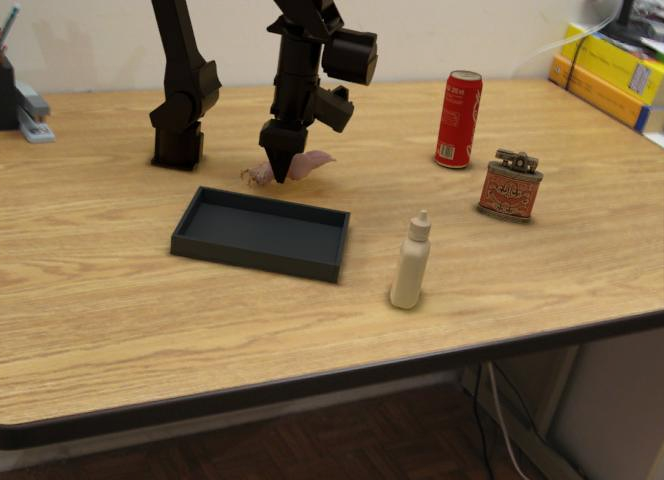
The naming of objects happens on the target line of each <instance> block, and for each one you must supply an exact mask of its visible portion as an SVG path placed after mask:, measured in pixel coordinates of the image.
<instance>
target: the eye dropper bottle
mask: <svg viewBox="0 0 664 480" xmlns="http://www.w3.org/2000/svg"><path fill="white" fill-rule="evenodd" d="M427 216H428V211H427V210H426V209H421V210H420V211H419V213H418V215H417V216H413V217H412V218H411V219H410V223H409V228H408V231H407V234H406V236H404V238H403V239H402V241H401V244H400V247H399V252H398V257H397V260H396V261H397V262H396V266H395V271H394V274H393V280H392V284H391V289H390V294H389V300H390V303H391V305H392V306H394V307H397V308H400V309H405V310H409V309H410V310H411V309H412V308H414V306H415V305H416V304H417V303H418V301H419V298H420V294H421V289H422V285H423V282H424V277H425V272H426V268H427V265H428V259H429V256H430V252H431V241H430V239H429V238H430V233H431V229H432V222H431V220H430V219H428V217H427Z"/></svg>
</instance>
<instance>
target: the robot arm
mask: <svg viewBox="0 0 664 480" xmlns="http://www.w3.org/2000/svg"><path fill="white" fill-rule="evenodd" d="M272 1H273V2H274V3H275V5H276V6H277V8H278V9H279V10H280V11H281V14H280V15H279V16H278V17H277V19H276V20H275V21H273V22H272V23H271V24H269V25H268V26H266V29H265V30H266V32H267V33H270V34H275V35H278V36H280V42H279V50H278V59H277V67H276V73H275V75H274V77H273V83H272V86H274V92H273V98H272V103H271V105H270V108H269V115H273V117H274V118H272V117H271V118H270V119H268V120H267V121H266V122H264V123H263V125H262V127H261V129H260V131H259V136H258V144H257V145H258V146H259V147H261V148H263V149H264V151H265V155H266V157H267V160H268V161H269V162H270V165H271V168H272V171H273V174H274V177H275V180H274V181H275V183H276V184H280V185H284V184H285V182H286V180H287V179H286V178H287V177H286V176H287V173H288V171H289V168H290V165H291V162H292V159H293V156H294V155H296V154H300V153H303V154H305V150H306V147H307V144H308V138H309V130H308V128H309V127H310V126H311V125H313V124H314V123H315V121H316V120H317V121H318V122H320V123H321V124H324V125H326V126H327V127H329V128H331V129H332V131H333V132H336V133H338V134H342V133H343V132H344V130H345V129H346V127H347V125H348V123H349V121H350V120H351V118H352V117H353V114H354V112H355V105H354V104H353V103H354V101H352V100H350V89H349V88H347V87H346V86H344V85H342V84H339V85H338V86H336V87H335V88H333V89H330V88H327V89H325V88H323V87H322V86H321V80H322V78H321V77H320V74H319V72H320V71H319V70H320V66H321V68H322V73H323V74H326V76H327V78H330V79H333V80H339V81H342V82H347V83H352V84H356V85H360V86H364V87H369V86H370V84H371V82H372V80H373V78H374V75H375V72H376V68H377V65H378V64H377V63H378V58H379V54H378V43H377V41H378V34H377V33H375V32H371V31H359V30H355V29H350V28H347V27H345V25H346V24H345V23H346V22H345V21H344V19H343V18H342V15H341V13H340V11H339V9H338V7H337V4H336V3H335V0H272ZM150 2H151V5H152V10H153V13H154V17H155V18H154V19H155V21H156V25H157V29H158V33H159V36H160V37H159V38H160V40H161V45H162V48H163V52H164V56H165V67H164V76H163V92H164V102H163V103H161V104H159V105H158V106H157V107H155V108H154V109H152V111H150V112H149V113H148V117H149V120H150V124H151V127H152V128H153V129H154V131H155V132H154V153H153V156H152V158H151V159H150V164H151V165H154V166H159V167H165V168H169V169H177V170H182V171H187V172H192V171H194V169H195V168H196V166H197V165H198V164H199V163H200V162H201V161H202V158H203V154H204V143H205V142H204V140H205V133H204V132H203V131H202V121H200V119H202V118H204V117H205V115H206V113H207V112H208V111H209V110H211V109H212V108H214V106H216V105H217V102H218V101H219V99H220V89H221V88H222V87H223V84H222V82H221V81H220V78H219V75H218V67H217V65H218V64H217V62H216V60H215V59H212V60H209V61H206V59H205V58H204V56H203V55H202V54H201V52H200V51H199V48H198V45H197V41H196V35H195V32H194V27H193V24H192V20H191V16H190V11H189V7H188V3H187V0H150ZM322 49H323V50H322ZM349 100H350V101H349Z"/></svg>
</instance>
